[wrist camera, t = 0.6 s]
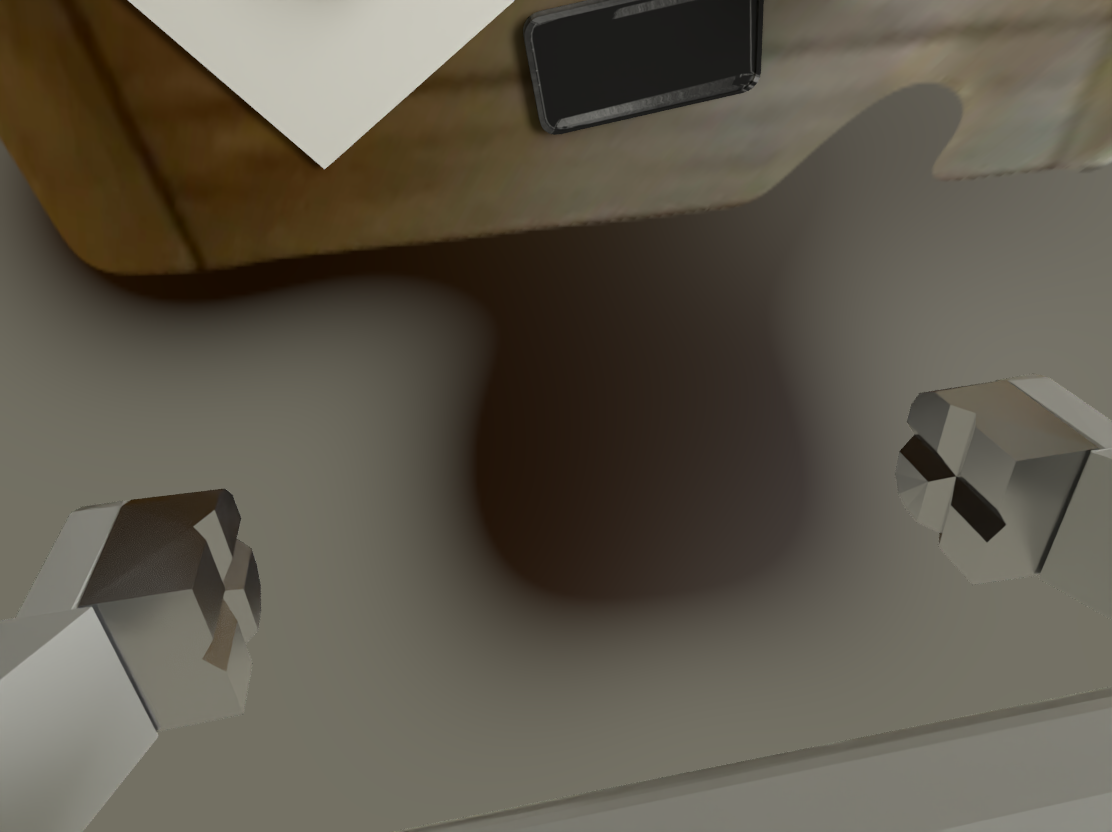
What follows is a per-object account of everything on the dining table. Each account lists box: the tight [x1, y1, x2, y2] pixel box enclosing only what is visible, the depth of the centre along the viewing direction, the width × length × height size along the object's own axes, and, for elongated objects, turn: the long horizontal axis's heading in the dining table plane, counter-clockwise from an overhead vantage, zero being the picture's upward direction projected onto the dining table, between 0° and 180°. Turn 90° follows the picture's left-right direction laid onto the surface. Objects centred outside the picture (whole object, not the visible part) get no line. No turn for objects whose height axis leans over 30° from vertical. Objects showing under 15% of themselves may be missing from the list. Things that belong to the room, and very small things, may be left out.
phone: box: [523, 0, 764, 135], centre depth 50 cm, size 8×1×15 cm
